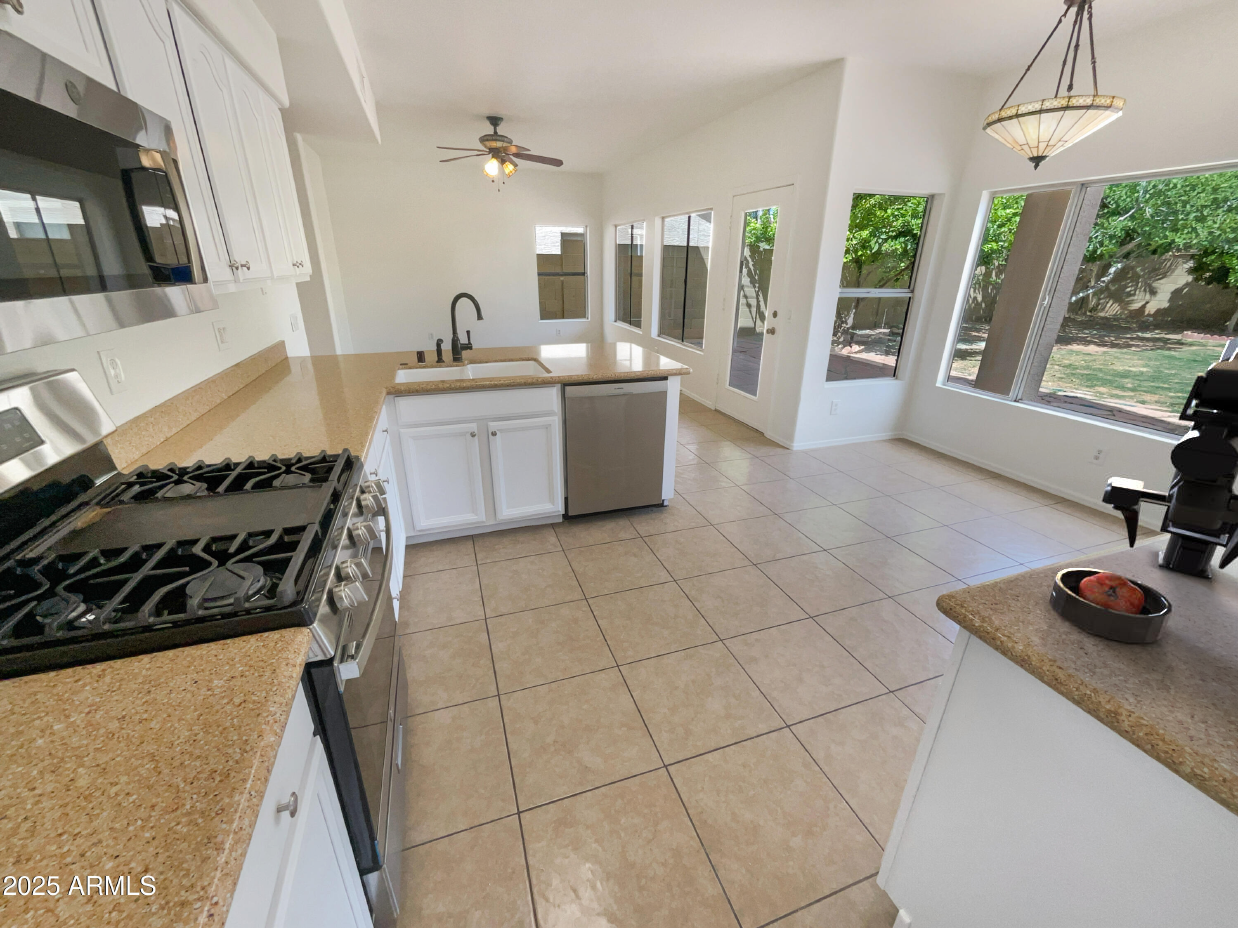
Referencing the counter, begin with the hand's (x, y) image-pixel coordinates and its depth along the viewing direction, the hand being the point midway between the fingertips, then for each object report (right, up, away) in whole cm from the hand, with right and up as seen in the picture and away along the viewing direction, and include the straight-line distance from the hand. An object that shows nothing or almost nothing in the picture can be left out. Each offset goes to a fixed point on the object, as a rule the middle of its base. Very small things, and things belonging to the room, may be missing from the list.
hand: (1174, 556), depth 76 cm
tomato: (-6, -10, +5) cm, 13 cm away
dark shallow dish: (-6, -11, +5) cm, 13 cm away
